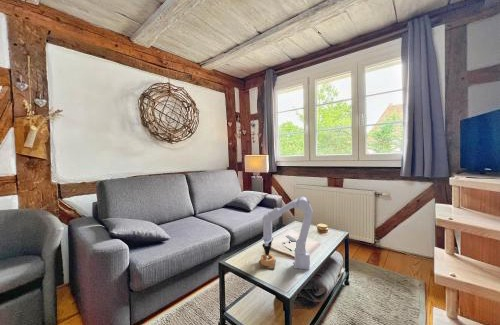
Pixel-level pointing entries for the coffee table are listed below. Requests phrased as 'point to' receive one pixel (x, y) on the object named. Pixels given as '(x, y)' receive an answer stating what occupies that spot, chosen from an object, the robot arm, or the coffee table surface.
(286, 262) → the coffee table surface
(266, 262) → the cord coil ring
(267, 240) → the robot arm
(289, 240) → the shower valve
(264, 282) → the coffee table surface
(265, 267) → the walnut base board
